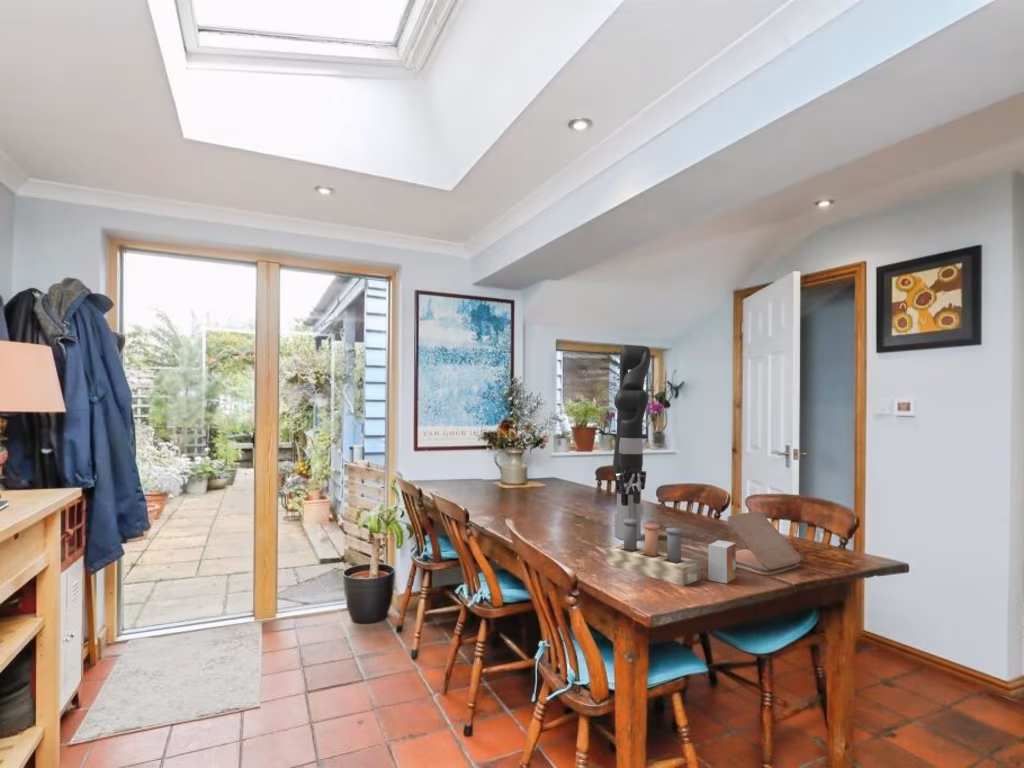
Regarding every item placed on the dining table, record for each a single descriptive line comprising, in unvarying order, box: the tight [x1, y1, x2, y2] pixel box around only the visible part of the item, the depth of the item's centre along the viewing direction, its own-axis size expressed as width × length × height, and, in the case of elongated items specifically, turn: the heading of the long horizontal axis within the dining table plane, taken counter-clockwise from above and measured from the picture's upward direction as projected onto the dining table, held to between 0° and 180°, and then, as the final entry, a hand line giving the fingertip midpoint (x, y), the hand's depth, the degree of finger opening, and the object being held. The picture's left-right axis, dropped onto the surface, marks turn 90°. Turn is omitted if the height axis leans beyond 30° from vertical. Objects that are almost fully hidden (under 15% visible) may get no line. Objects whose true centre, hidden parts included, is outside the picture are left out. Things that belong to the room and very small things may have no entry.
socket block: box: [605, 543, 702, 587], centre depth 171 cm, size 28×10×5 cm, turn 41°
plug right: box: [665, 527, 683, 564], centre depth 165 cm, size 5×5×10 cm
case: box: [726, 511, 802, 577], centre depth 181 cm, size 20×21×16 cm
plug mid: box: [643, 522, 660, 558], centre depth 171 cm, size 5×5×10 cm
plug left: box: [623, 519, 638, 552], centre depth 177 cm, size 5×5×10 cm
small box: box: [707, 539, 737, 585], centre depth 164 cm, size 8×6×10 cm
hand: (630, 504), depth 178 cm, fingers open, 5 cm apart
